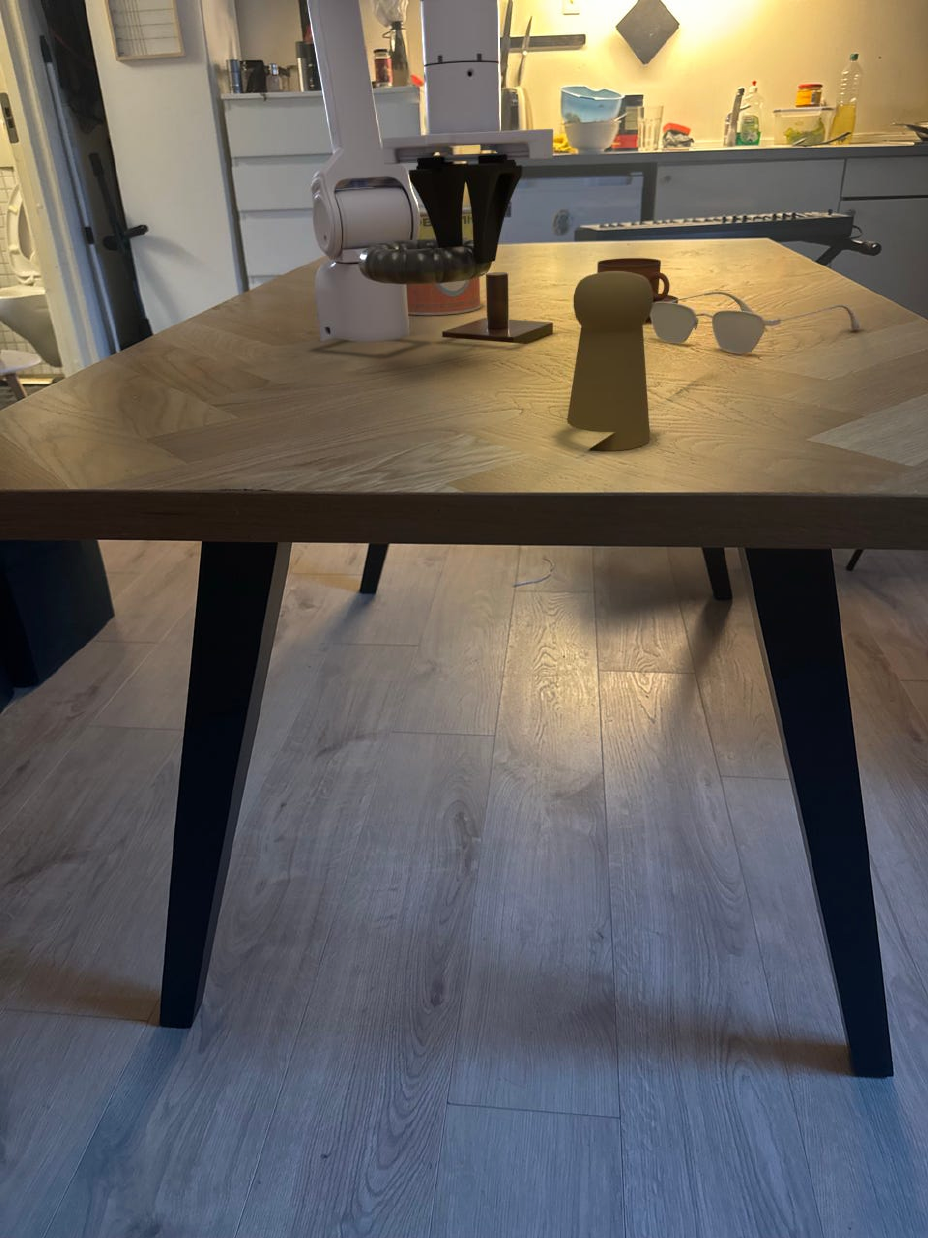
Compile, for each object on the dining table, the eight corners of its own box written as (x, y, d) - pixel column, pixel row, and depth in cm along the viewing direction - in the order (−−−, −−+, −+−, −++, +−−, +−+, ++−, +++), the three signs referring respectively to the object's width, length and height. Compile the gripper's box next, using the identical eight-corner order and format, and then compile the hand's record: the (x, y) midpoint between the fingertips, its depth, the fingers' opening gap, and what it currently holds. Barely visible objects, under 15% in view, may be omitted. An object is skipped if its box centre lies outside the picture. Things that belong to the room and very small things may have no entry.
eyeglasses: (641, 338, 91) (643, 299, 89) (743, 315, 101) (747, 279, 99) (766, 359, 80) (771, 314, 78) (867, 330, 90) (875, 290, 88)
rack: (442, 342, 94) (438, 277, 90) (484, 328, 100) (482, 266, 97) (513, 348, 89) (512, 280, 86) (553, 333, 96) (553, 269, 92)
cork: (557, 428, 63) (559, 269, 58) (637, 423, 64) (647, 264, 58) (573, 453, 58) (577, 280, 53) (660, 447, 58) (673, 275, 53)
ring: (334, 282, 72) (331, 249, 70) (412, 266, 80) (410, 236, 78) (445, 288, 66) (443, 252, 65) (516, 270, 74) (516, 238, 73)
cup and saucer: (691, 311, 105) (696, 256, 102) (655, 328, 96) (658, 269, 93) (601, 306, 110) (603, 254, 107) (559, 322, 102) (560, 266, 99)
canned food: (415, 318, 108) (409, 213, 102) (385, 307, 117) (377, 210, 111) (495, 309, 112) (493, 207, 106) (460, 298, 121) (456, 204, 115)
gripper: (352, 71, 64) (368, 264, 71) (520, 53, 57) (521, 270, 64) (407, 74, 69) (418, 255, 76) (567, 59, 62) (564, 259, 69)
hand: (468, 261), depth 70 cm, fingers closed on ring, 3 cm apart
